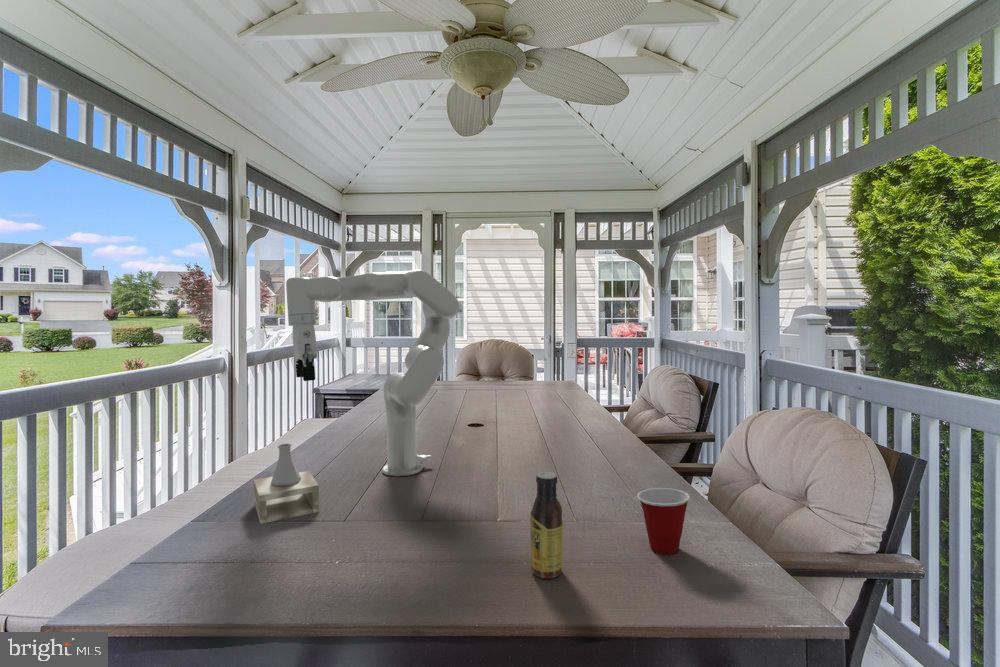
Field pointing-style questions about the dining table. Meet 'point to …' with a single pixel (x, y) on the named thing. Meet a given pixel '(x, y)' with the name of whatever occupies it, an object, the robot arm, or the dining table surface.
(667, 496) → the plastic cup
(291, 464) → the flask
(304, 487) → the grooved beige box
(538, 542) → the sauce bottle
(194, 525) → the dining table surface
